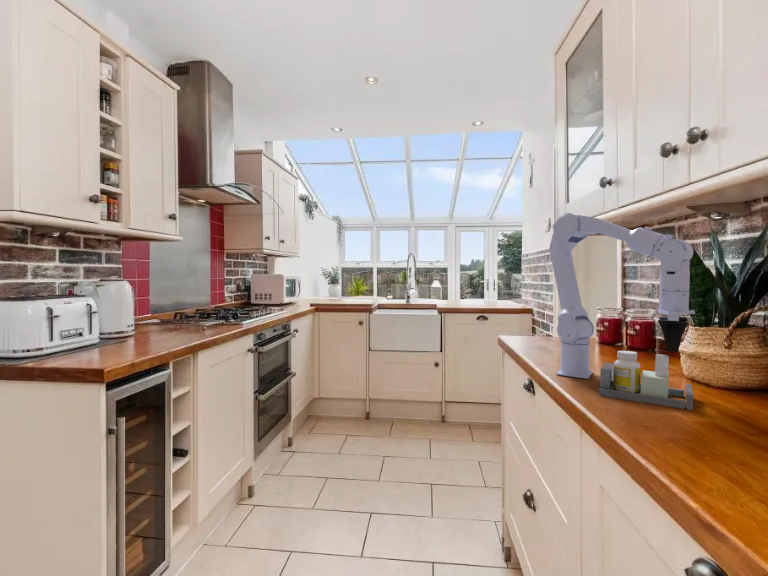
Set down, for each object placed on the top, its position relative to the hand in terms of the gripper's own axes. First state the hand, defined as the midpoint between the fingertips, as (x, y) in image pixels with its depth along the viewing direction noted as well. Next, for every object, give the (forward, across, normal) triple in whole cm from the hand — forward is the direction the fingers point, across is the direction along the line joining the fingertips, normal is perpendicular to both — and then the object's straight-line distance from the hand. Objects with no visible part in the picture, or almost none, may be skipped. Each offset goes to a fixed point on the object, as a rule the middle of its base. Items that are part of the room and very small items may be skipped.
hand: (672, 349), depth 98 cm
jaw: (+10, -7, +3) cm, 13 cm away
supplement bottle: (+11, -7, +8) cm, 15 cm away
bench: (+10, -7, +5) cm, 13 cm away
